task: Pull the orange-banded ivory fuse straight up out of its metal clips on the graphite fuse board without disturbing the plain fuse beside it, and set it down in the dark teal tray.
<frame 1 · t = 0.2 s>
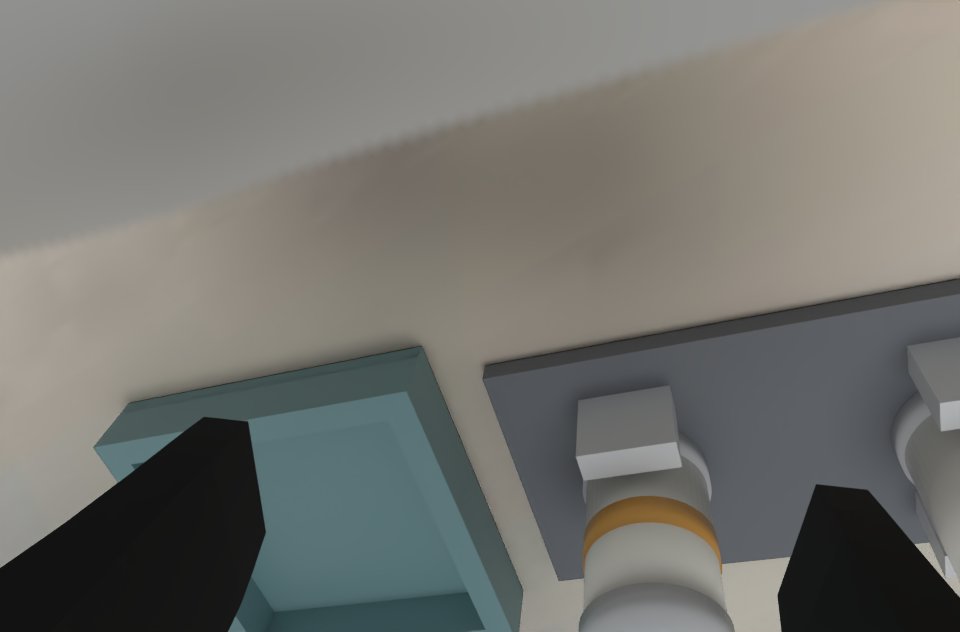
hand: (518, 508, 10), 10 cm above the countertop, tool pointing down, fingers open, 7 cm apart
fuse board: (791, 435, 21), on the countertop
marked fuse: (644, 471, 22), point 1 cm above the countertop, touching fuse board
tray: (334, 501, 25), on the countertop
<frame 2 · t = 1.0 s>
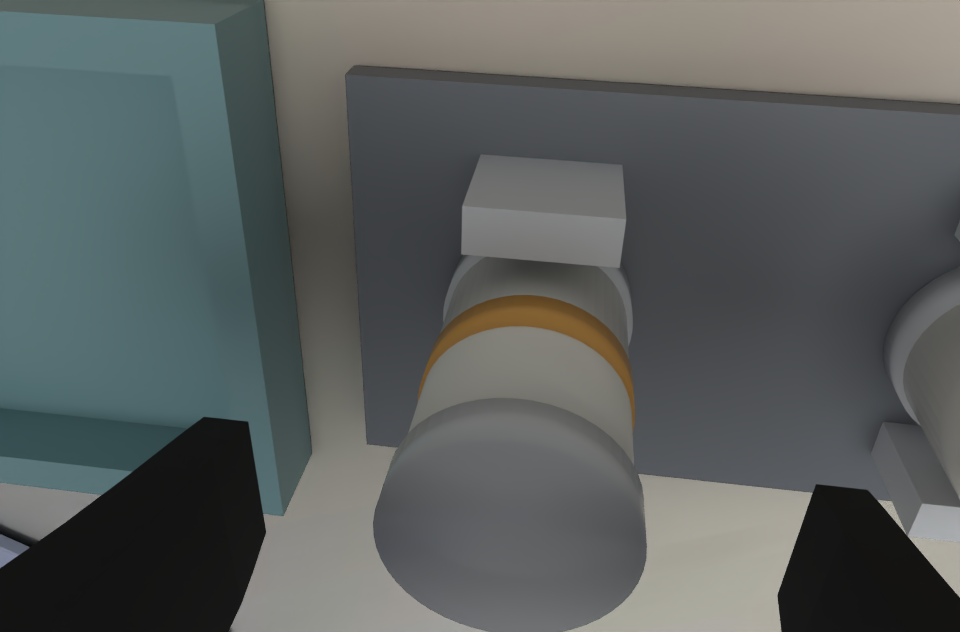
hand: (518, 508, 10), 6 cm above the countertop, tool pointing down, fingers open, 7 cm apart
fuse board: (751, 304, 15), on the countertop
marked fuse: (539, 301, 15), point 1 cm above the countertop, touching fuse board
tray: (65, 243, 16), on the countertop
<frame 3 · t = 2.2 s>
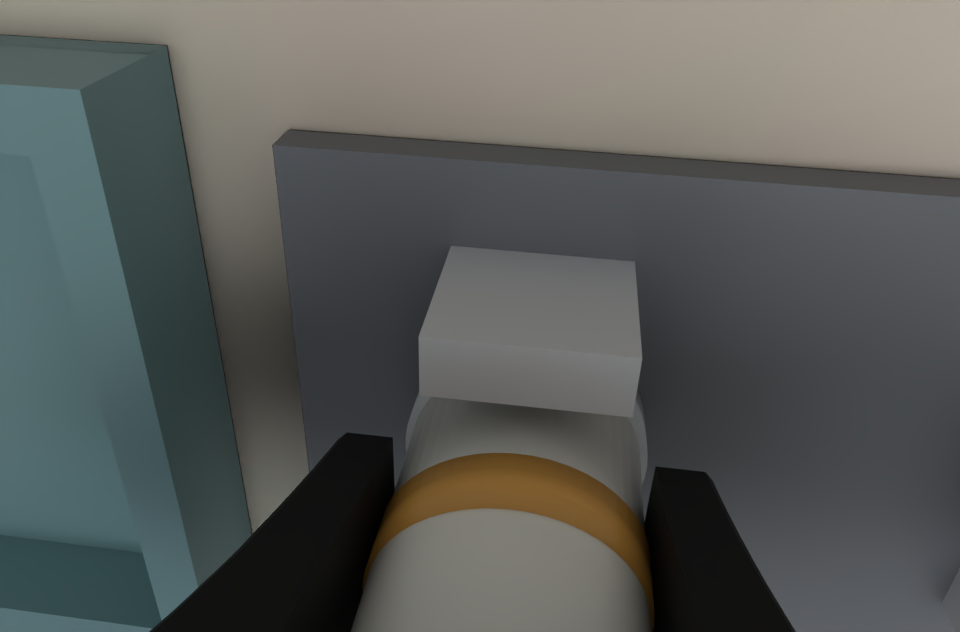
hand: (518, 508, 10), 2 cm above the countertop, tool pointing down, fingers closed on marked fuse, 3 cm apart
fuse board: (796, 423, 12), on the countertop
marked fuse: (528, 420, 12), point 1 cm above the countertop, touching fuse board, gripper
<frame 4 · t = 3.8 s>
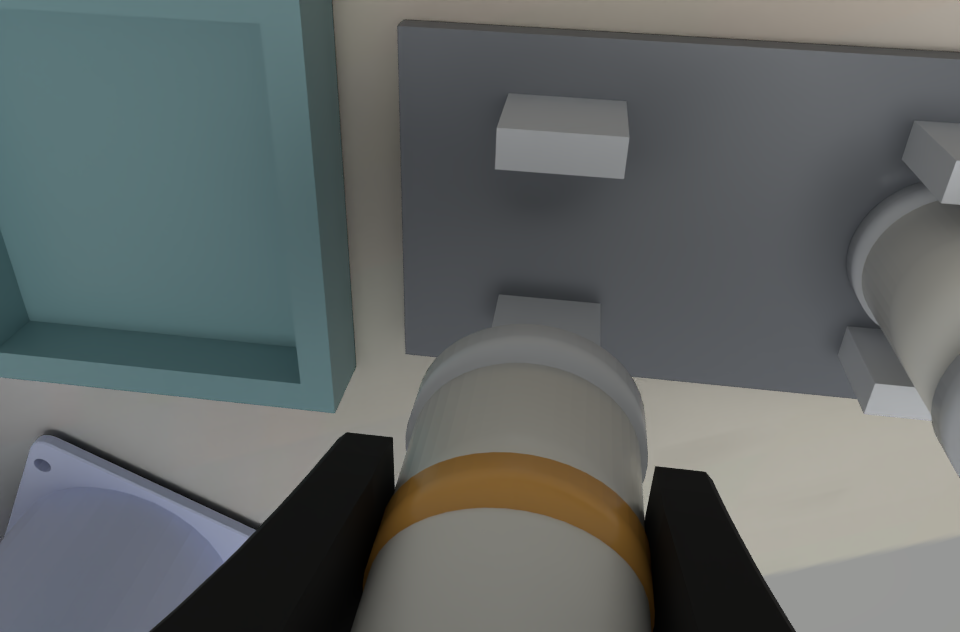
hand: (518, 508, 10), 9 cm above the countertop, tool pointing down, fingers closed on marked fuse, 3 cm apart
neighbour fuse: (931, 253, 17), point 1 cm above the countertop, touching fuse board
fuse board: (735, 225, 18), on the countertop
marked fuse: (528, 420, 12), point 8 cm above the countertop, touching gripper
tray: (150, 178, 19), on the countertop
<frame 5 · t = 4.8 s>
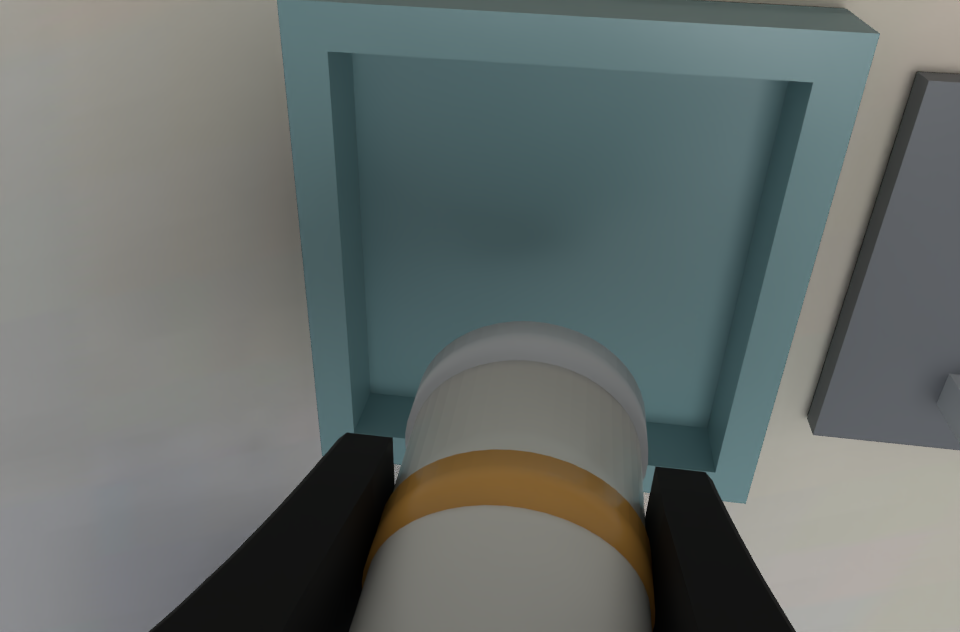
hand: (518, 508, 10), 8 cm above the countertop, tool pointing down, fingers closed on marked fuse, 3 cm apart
marked fuse: (528, 418, 12), point 6 cm above the countertop, touching gripper
tray: (550, 241, 17), on the countertop
when the fingers open (4 cm above the countertop, at t = 5.7 s): marked fuse drops 2 cm, resting on tray.
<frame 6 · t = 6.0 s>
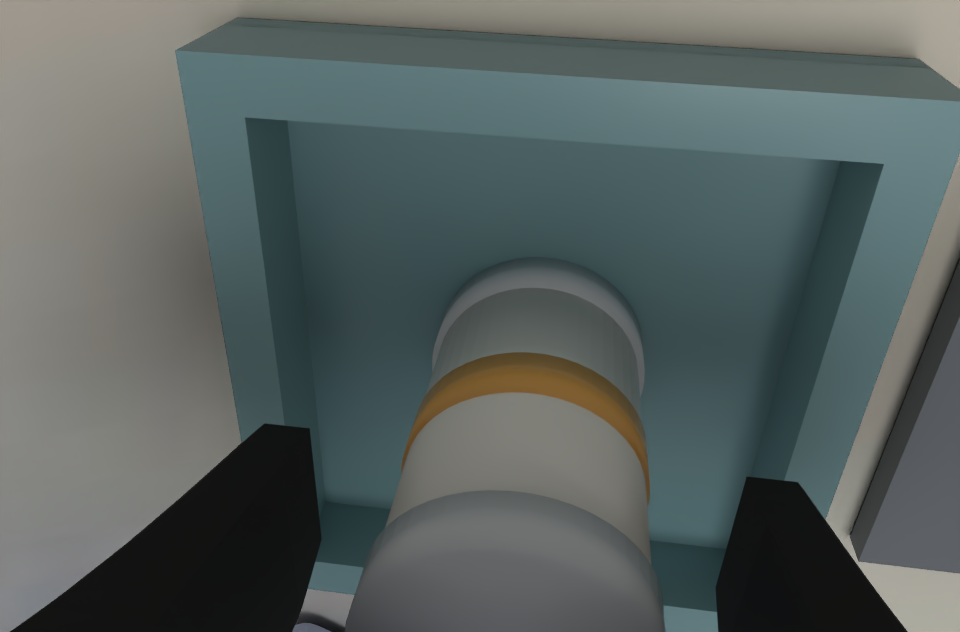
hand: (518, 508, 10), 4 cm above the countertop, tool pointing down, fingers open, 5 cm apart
marked fuse: (539, 346, 13), point 1 cm above the countertop, touching tray
tray: (539, 333, 14), on the countertop
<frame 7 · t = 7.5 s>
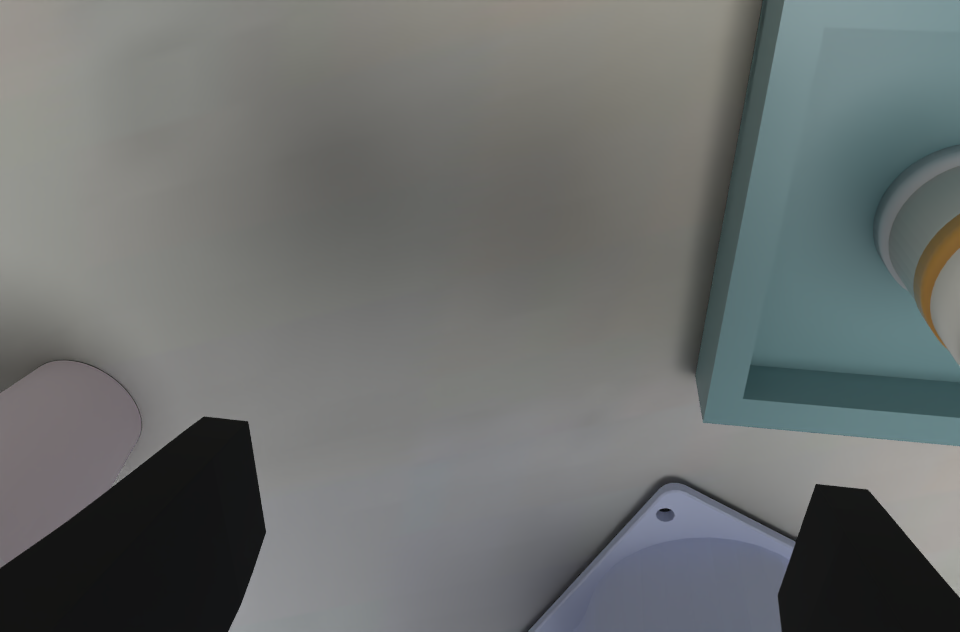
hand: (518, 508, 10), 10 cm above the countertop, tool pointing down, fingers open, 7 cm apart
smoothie: (88, 405, 25), on the countertop
marked fuse: (956, 218, 17), resting on tray
tray: (945, 211, 18), on the countertop
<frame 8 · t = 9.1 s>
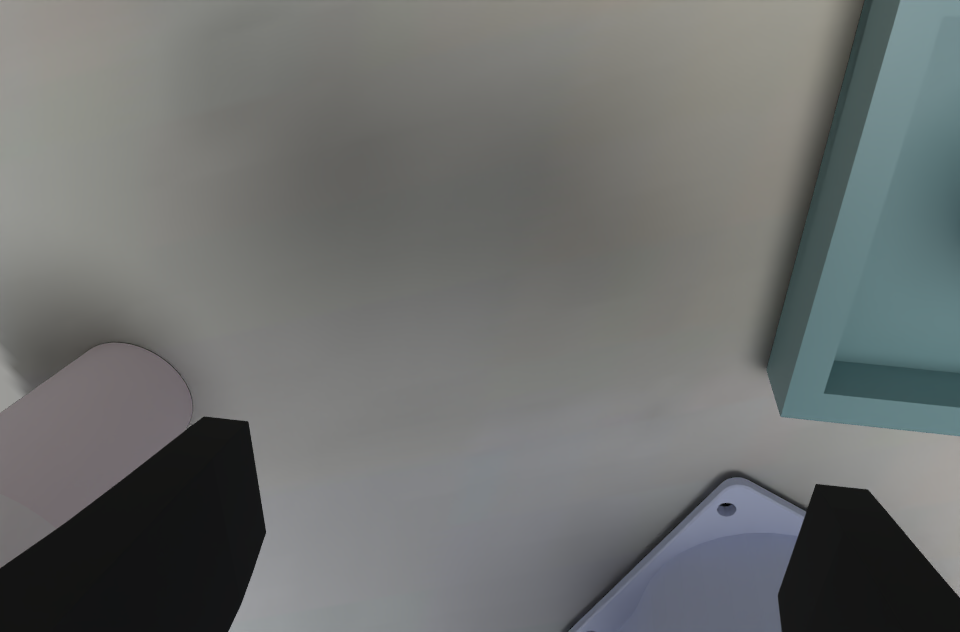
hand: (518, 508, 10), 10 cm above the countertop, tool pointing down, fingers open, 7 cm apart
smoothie: (137, 389, 24), on the countertop
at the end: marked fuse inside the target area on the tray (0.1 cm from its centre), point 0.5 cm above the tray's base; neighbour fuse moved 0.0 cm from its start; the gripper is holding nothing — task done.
